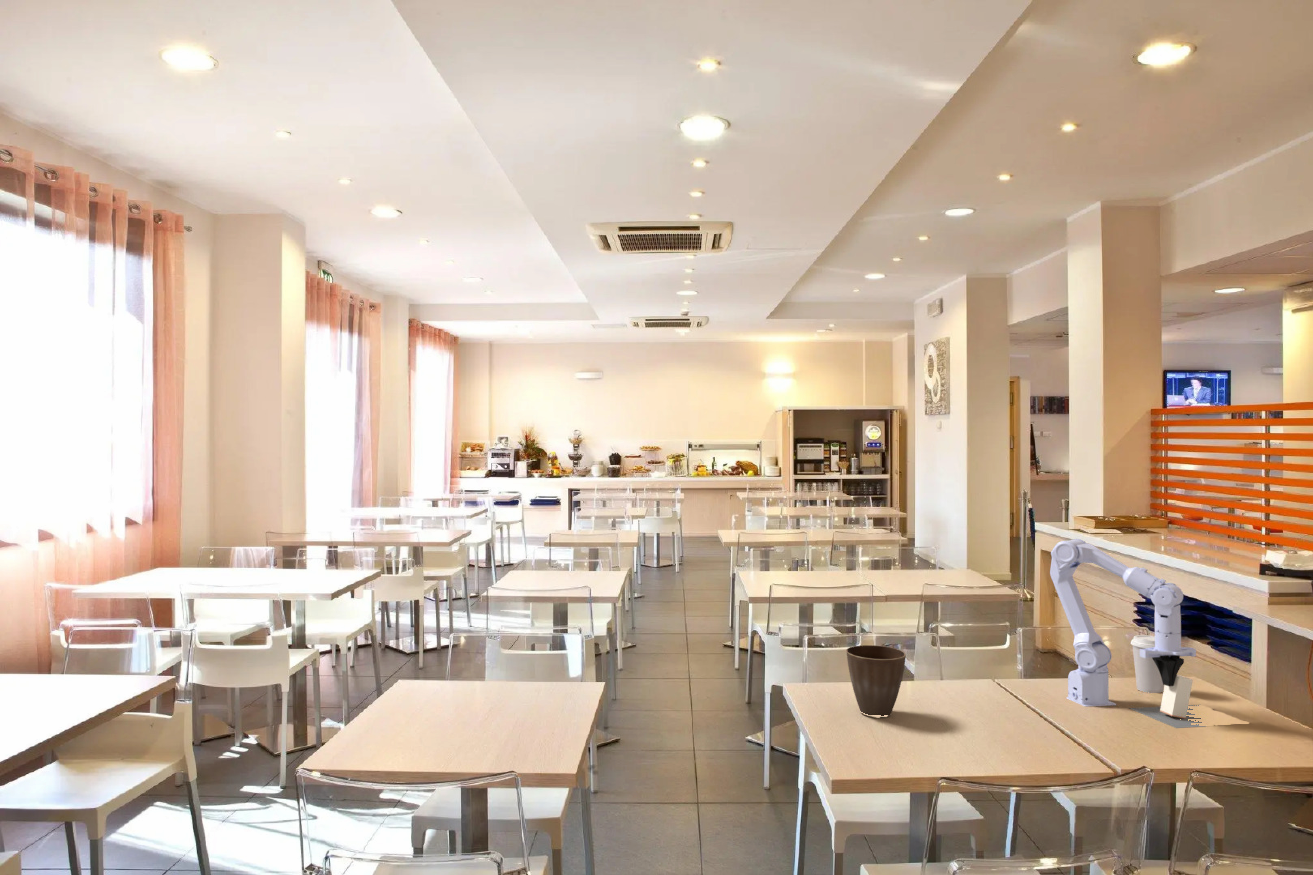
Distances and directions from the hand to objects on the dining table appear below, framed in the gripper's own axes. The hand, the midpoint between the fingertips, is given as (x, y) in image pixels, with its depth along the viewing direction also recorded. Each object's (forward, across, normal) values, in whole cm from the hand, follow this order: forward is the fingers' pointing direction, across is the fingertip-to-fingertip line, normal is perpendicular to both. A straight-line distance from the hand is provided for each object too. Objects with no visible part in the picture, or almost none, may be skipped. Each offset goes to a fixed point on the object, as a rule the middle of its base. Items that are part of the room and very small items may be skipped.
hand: (1168, 685), depth 210 cm
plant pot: (+9, -73, +14) cm, 75 cm away
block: (+8, +1, 0) cm, 8 cm away
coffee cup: (+9, +14, +23) cm, 28 cm away
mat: (+8, +6, 0) cm, 10 cm away
